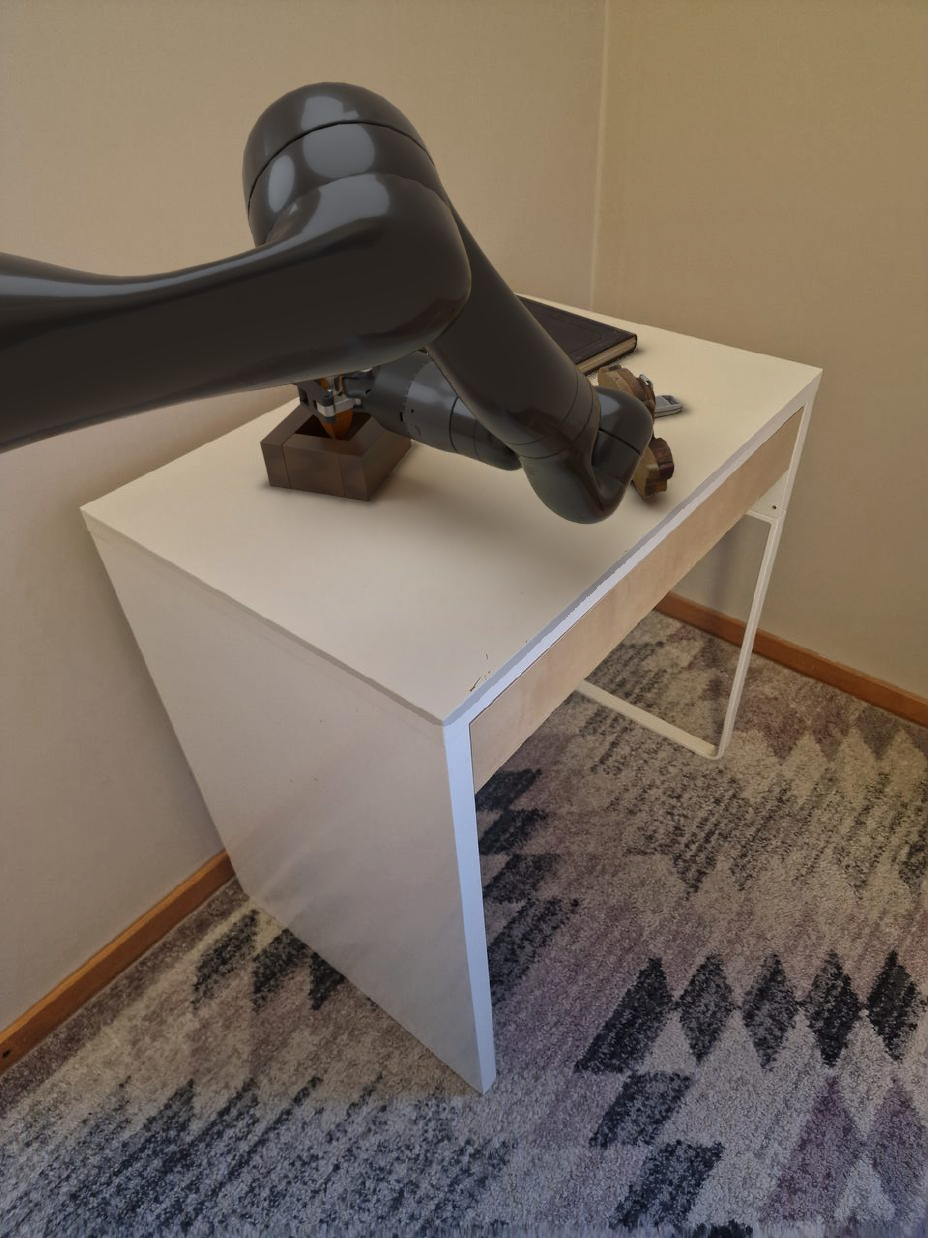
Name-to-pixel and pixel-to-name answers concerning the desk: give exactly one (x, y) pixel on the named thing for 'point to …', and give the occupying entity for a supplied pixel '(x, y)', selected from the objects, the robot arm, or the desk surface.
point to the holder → (331, 455)
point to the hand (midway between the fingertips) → (308, 359)
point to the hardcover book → (582, 336)
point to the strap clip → (664, 402)
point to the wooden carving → (658, 454)
